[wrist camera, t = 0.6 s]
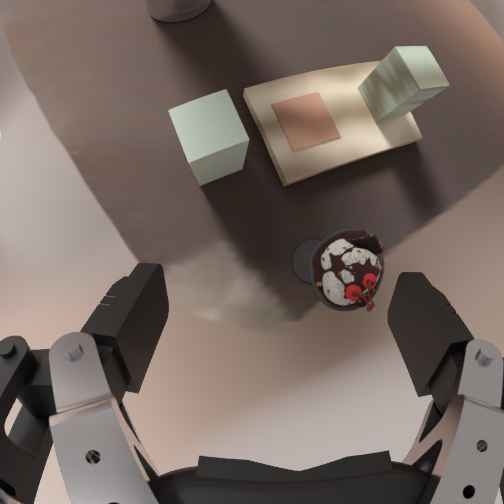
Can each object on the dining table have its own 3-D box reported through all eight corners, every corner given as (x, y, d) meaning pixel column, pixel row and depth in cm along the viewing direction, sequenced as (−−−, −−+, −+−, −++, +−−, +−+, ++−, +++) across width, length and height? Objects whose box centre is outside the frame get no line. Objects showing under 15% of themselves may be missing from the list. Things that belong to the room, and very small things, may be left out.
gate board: (243, 96, 31) (251, 35, 19) (375, 67, 33) (418, 22, 21) (283, 186, 32) (315, 158, 20) (414, 142, 33) (472, 114, 22)
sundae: (297, 300, 33) (349, 345, 18) (276, 245, 32) (317, 249, 17) (348, 277, 33) (426, 302, 18) (329, 223, 33) (401, 212, 18)
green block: (184, 146, 31) (168, 110, 21) (225, 130, 31) (226, 88, 21) (199, 186, 31) (188, 162, 21) (242, 169, 32) (249, 139, 22)
